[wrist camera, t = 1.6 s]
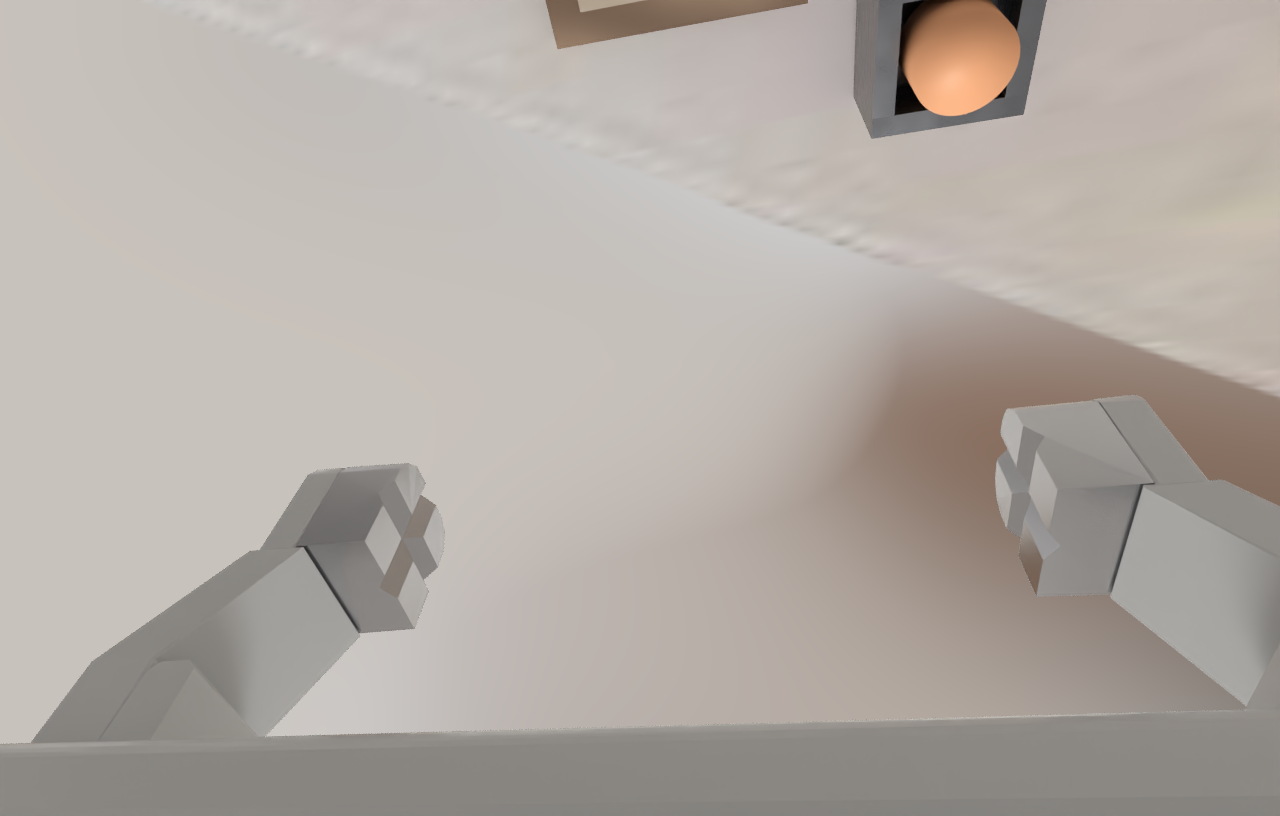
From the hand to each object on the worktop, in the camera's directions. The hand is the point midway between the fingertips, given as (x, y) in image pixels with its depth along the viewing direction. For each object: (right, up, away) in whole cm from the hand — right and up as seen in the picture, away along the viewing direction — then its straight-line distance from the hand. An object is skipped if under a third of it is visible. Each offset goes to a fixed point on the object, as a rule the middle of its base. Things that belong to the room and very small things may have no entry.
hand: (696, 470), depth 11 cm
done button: (+13, +18, +24) cm, 33 cm away
